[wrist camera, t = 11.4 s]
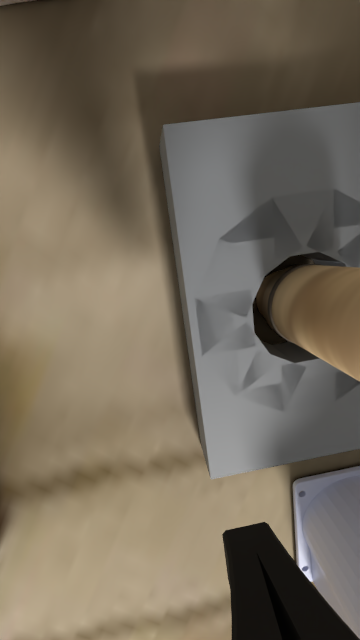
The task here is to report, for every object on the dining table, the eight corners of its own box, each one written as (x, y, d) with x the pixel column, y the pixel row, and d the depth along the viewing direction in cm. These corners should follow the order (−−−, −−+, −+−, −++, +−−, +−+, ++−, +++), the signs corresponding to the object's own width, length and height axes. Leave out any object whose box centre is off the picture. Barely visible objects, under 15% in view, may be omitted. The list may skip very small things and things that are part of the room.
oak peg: (315, 325, 19) (460, 385, 10) (251, 334, 19) (345, 404, 10) (313, 258, 18) (471, 261, 9) (246, 266, 18) (346, 278, 9)
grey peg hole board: (424, 401, 22) (467, 426, 19) (201, 445, 20) (210, 479, 18) (446, 111, 17) (508, 85, 14) (159, 146, 16) (162, 124, 13)
